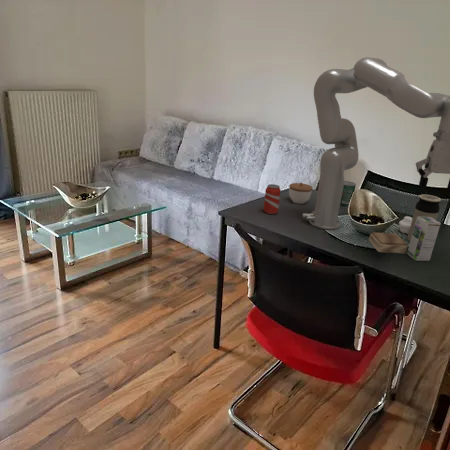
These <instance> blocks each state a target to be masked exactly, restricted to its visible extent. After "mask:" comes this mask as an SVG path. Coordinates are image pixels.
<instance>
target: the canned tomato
mask: <svg viewBox="0 0 450 450" xmlns="http://www.w3.org/2000/svg"><path fill="white" fill-rule="evenodd" d="M356 186H357V184H356V183H355V182H354V181H350V180H349V181H348V180H344V186H343V192H342V197H341V203H340V208H343V209H349V208H348V205H349V202H350V199H351V197H352V194H353V192H354V193H355V191H356Z"/></svg>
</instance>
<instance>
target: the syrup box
mask: <svg viewBox="0 0 450 450" xmlns="http://www.w3.org/2000/svg"><path fill="white" fill-rule="evenodd" d="M440 228H441V222H440V221H437V220H435V219H433V218H432V217H425V216H419V217H417V219H416V222H415V226H414V230H413V233H412V237H411V241H409V243H408V245H409V246H408V247H407V251H406V254H407V255H408V256H409V257H410V258H411V259H413V261H415V262H418V261H420V262H421V261H422V262H429V261H431V258H432V255H433V254H432V253H433V250H434V247H435V244H436V240H437V238H438V234H439V230H440Z"/></svg>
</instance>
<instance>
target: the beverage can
mask: <svg viewBox="0 0 450 450" xmlns="http://www.w3.org/2000/svg"><path fill="white" fill-rule="evenodd" d="M281 191H282V190H281V188H280V185H278V184H273V183H272V184H268V185H267V186H266V188H265V192H264V193H265V194H264V202H263V212H265V214H267V215H276V214H277V213H278V212H279V207H280V200H281Z"/></svg>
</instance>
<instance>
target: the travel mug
mask: <svg viewBox="0 0 450 450" xmlns="http://www.w3.org/2000/svg"><path fill="white" fill-rule="evenodd" d="M418 198H419V199H418V201H417V202H416V204H415V208H414V211H413V215H412V218H413V219H412V223H411V226H410V230H409V234H407V238H406V239H407V241H409V242H410V241H411V237H412V233H413V230H414V226H415V222H416V219H417V217H419V216H425V217H432V218H433V219H435V220H436V221H437V219H438V215H439V212H440V209H441V208H440V202H441V201H442V199H441V198H440V197H438V196H435V195H431V194H419V195H418Z"/></svg>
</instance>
